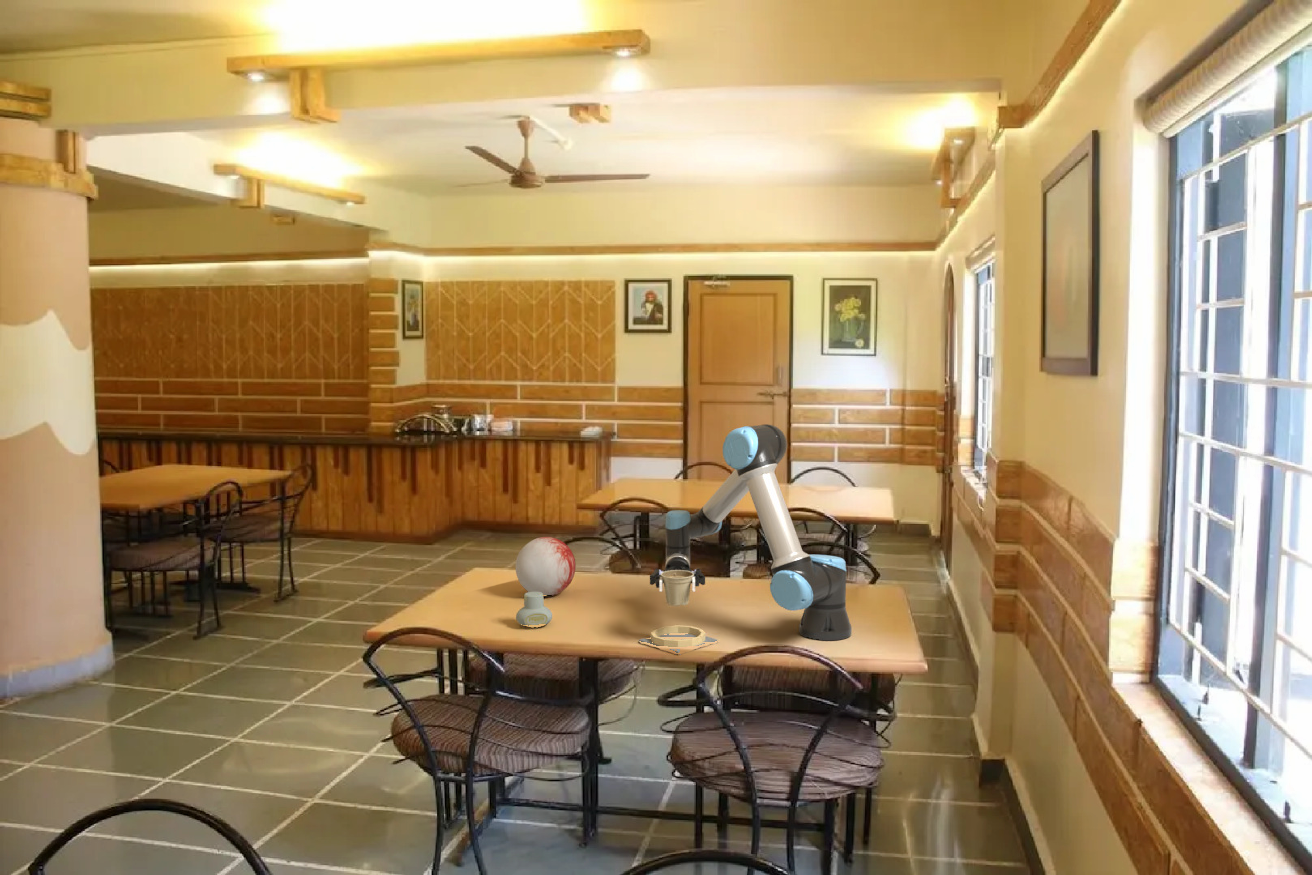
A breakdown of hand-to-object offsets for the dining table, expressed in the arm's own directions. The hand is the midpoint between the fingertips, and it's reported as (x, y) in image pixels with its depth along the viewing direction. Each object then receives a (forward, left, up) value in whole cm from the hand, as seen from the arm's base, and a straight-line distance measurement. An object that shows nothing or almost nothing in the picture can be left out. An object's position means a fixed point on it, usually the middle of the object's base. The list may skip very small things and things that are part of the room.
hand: (677, 586), depth 290 cm
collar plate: (+3, -3, -18) cm, 18 cm away
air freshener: (+47, +15, -18) cm, 53 cm away
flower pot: (+3, -3, -6) cm, 8 cm away
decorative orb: (+74, -10, -18) cm, 77 cm away
